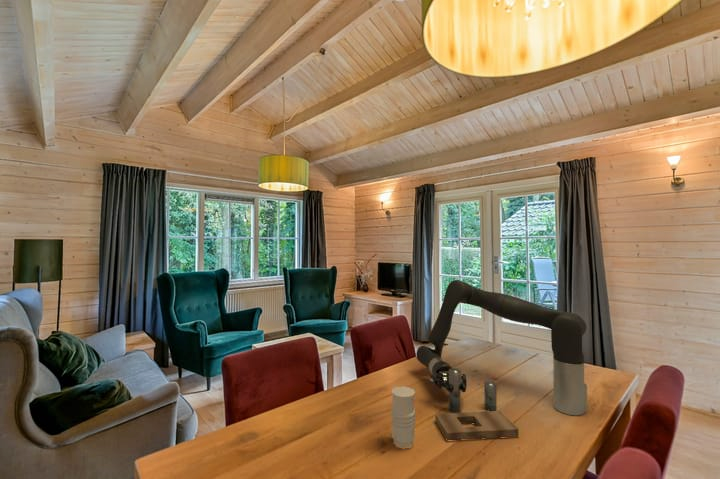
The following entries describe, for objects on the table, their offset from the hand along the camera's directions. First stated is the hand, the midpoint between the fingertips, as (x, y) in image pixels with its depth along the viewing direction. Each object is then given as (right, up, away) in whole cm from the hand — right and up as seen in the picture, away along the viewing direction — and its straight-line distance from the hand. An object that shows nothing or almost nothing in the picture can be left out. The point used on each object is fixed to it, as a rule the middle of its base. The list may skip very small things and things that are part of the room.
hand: (457, 389), depth 115 cm
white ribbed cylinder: (-21, -9, -16) cm, 28 cm away
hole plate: (+3, -8, -9) cm, 13 cm away
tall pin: (0, -8, +3) cm, 9 cm away
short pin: (+13, -8, +4) cm, 16 cm away
